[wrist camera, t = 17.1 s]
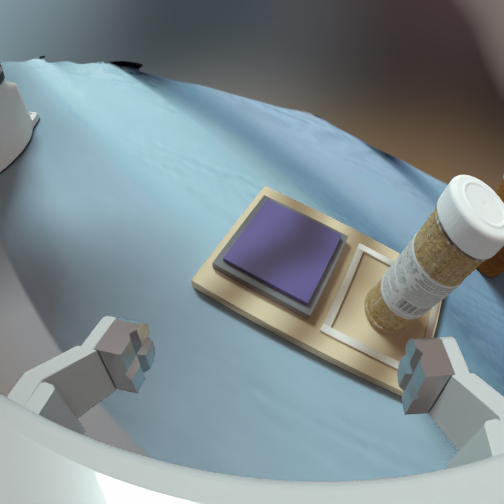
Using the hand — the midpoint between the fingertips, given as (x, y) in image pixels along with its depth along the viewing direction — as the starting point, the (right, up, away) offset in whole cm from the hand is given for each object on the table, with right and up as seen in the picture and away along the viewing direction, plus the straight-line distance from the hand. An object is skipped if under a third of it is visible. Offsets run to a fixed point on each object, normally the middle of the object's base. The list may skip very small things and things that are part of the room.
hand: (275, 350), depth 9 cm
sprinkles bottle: (+10, -2, +15) cm, 18 cm away
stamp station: (+6, 0, +17) cm, 18 cm away
